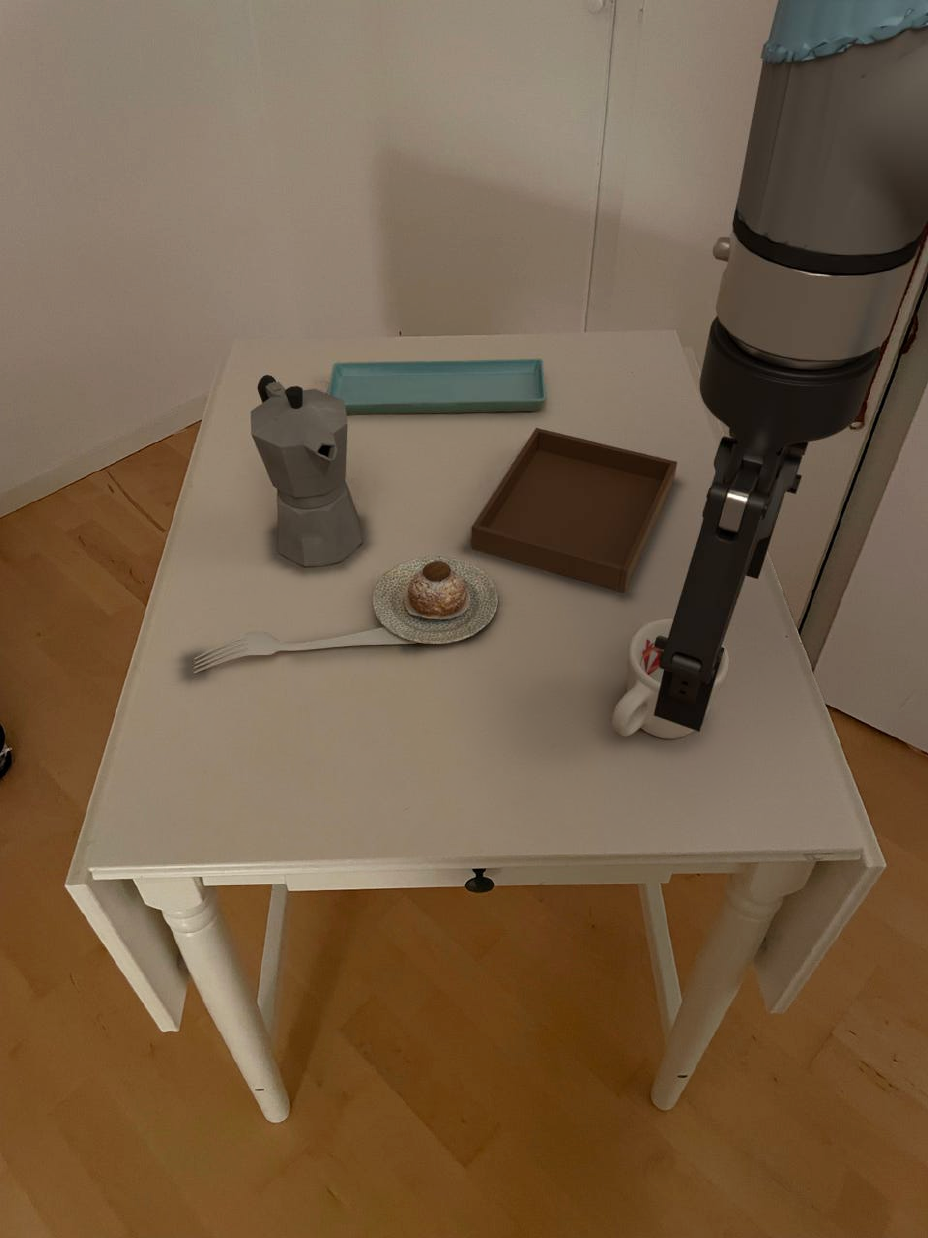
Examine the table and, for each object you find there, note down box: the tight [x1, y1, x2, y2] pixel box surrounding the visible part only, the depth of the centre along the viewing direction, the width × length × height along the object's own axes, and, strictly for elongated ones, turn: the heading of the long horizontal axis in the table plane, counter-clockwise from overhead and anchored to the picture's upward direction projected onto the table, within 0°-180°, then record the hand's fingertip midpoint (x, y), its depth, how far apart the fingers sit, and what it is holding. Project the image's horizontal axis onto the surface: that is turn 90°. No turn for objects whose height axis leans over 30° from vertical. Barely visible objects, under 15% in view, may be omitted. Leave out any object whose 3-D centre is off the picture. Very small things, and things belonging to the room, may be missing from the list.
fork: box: [193, 626, 419, 674], centre depth 85 cm, size 3×21×3 cm, turn 99°
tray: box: [471, 427, 678, 594], centre depth 96 cm, size 16×18×3 cm
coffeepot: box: [250, 374, 363, 568], centre depth 89 cm, size 15×9×18 cm, turn 32°
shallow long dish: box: [327, 358, 547, 415], centre depth 111 cm, size 26×9×2 cm, turn 89°
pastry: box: [371, 555, 499, 645], centre depth 86 cm, size 12×12×5 cm
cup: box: [611, 617, 730, 740], centre depth 76 cm, size 11×8×8 cm
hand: (710, 639), depth 57 cm, fingers open, 13 cm apart
